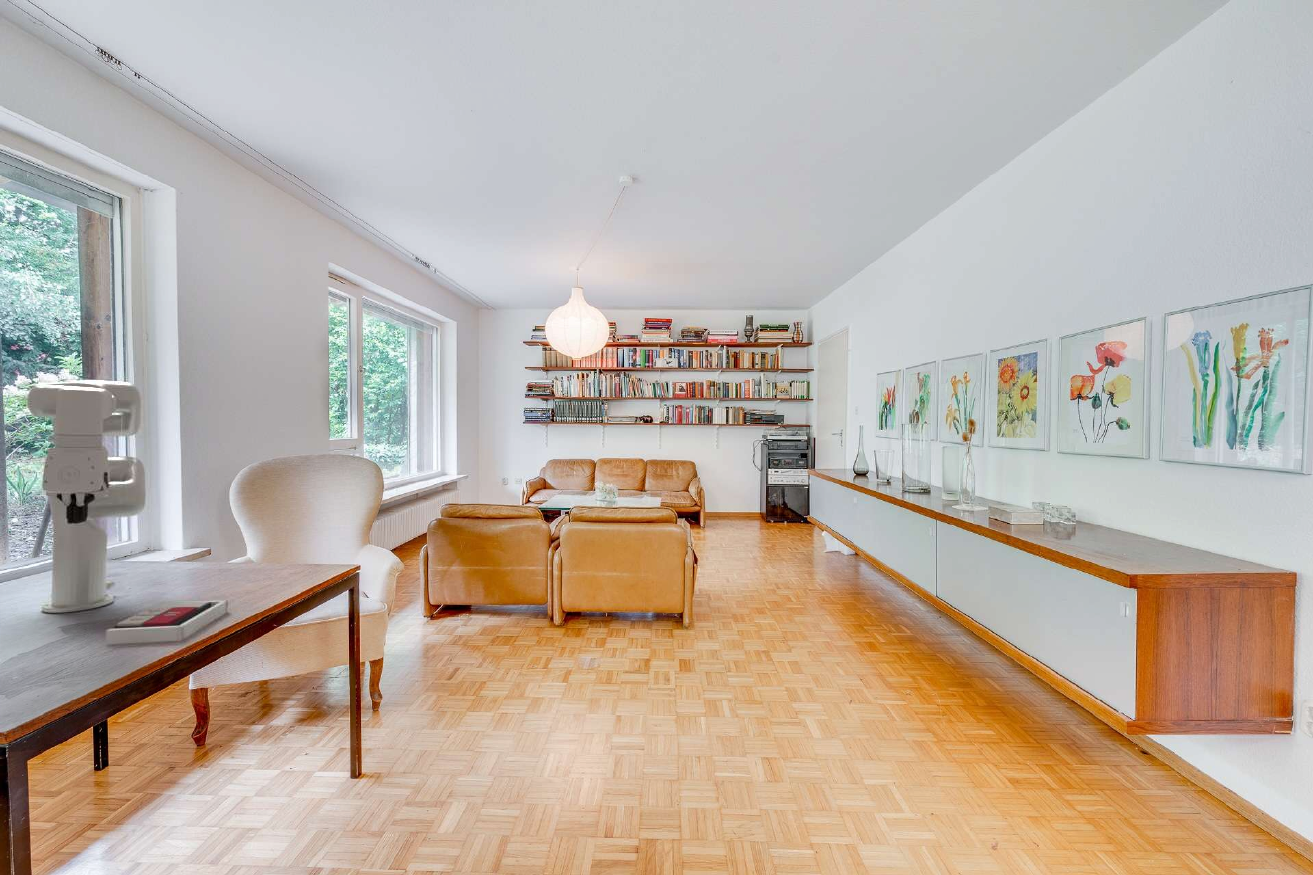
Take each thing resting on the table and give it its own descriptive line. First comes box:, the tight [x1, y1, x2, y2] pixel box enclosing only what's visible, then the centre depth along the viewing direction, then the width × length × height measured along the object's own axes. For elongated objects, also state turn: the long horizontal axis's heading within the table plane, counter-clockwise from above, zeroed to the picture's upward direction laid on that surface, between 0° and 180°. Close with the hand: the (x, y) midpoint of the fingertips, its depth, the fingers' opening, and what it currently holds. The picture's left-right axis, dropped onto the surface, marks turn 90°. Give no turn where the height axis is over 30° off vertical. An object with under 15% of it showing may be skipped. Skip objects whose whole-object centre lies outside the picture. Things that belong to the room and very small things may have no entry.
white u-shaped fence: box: [105, 599, 229, 645], centre depth 128 cm, size 20×14×3 cm
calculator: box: [112, 601, 211, 629], centre depth 129 cm, size 11×4×15 cm
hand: (76, 522), depth 126 cm, fingers closed
